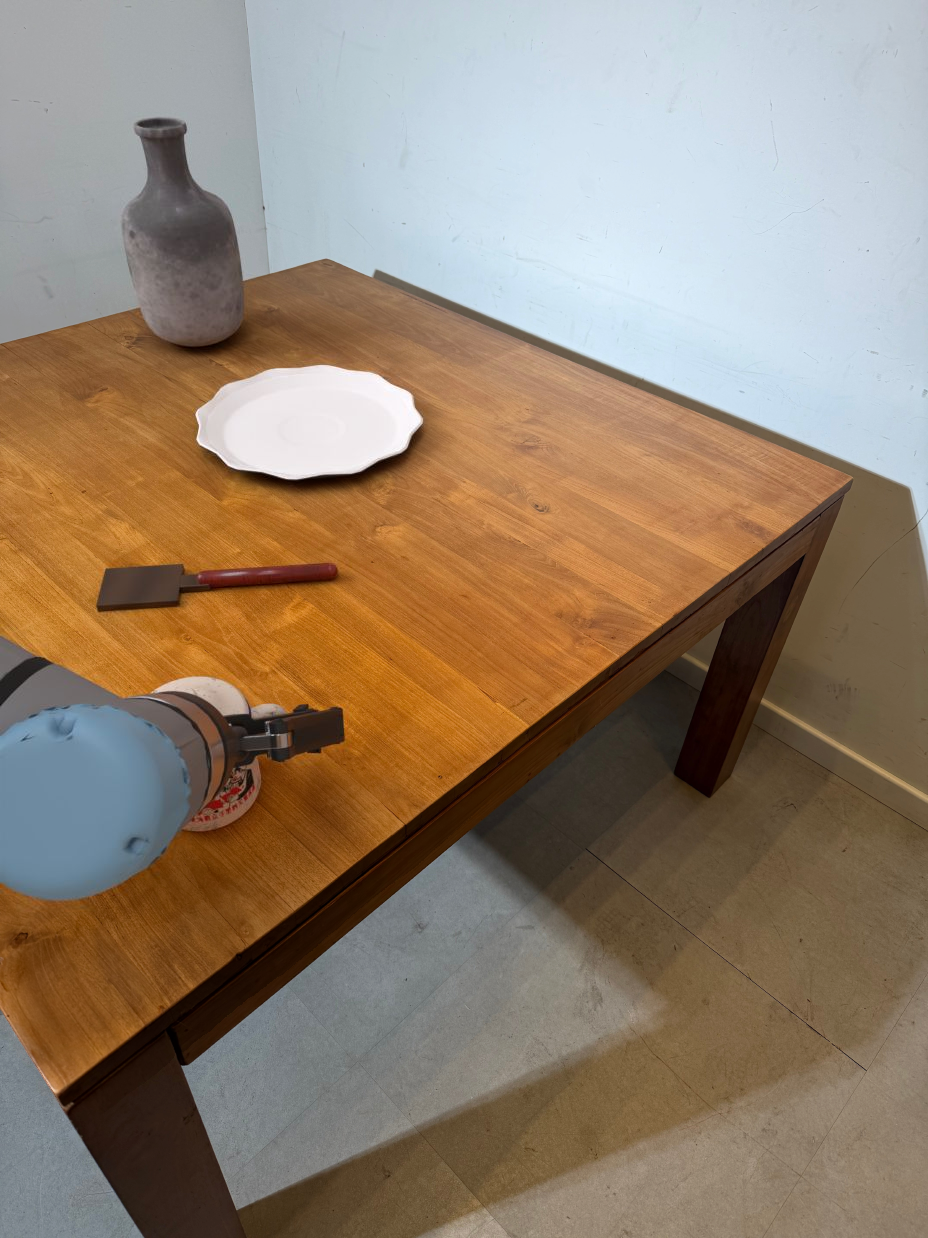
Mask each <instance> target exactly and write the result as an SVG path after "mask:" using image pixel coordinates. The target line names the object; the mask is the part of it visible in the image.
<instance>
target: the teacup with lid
mask: <svg viewBox="0 0 928 1238" xmlns="http://www.w3.org/2000/svg"><path fill="white" fill-rule="evenodd" d="M165 691H180V692H186V693H190V694H193V695H196V696H198V697H201V698H203V699H204V700H206V701H208V702H209V703H211V704H212V705H213V706H214V707H215V708H216V709H217V710H218V711H219V712H220V713H221V714H222V715H223V716H224V715H231V714H249V715H250V716H251V717H252V719H254V718H261V717H268V716H274V715H281V714H288V713H287V711H286V709H285V708H284V707H283V706H281V705H280V704H276V703H263V704H259V705H256V706H252V707H251V706H250V703H249V701H248V700H247V698H246V697H245V695H244V694H242V692H241V690H240V689H238V688H237V687H235V686H234V685H233V684H231V683H229V682H227V681H225V680H222V679H220V678H217V677H216V678H215V677H212V676H211V677H210V676H188V677H182V678H178V679H175V680H172V681H169V682H166V683H165V684H162V685H160V686H159V687H157V688H155V689H154V690H153V691H151V692H150V693H158V692H165ZM229 726H231V724H229ZM258 756H260V755H258ZM258 756H256V757H255V759H254V761H253V763H252V764H250V765H246V766H241V767H236V768H233V771H232V773H231V775H230V778H229V780H228V782H227V784H226V785H225V787H224V788H223V790H222V791H221V792H220V793H219V794H218V796H217V797H216V798H215V799H214V800H213V801H212V802H211V803H210V804H209V805H208V806H206V807H205V808H204V809H203V810H202V811H201V812H199V813H198V814H197V815H196V816H195V817H194V818H193V819H192V820H191V821H190V822H189V823H188V824H187V825H186V826H185V827H184V828H183V829H182V830H184V831H189V832H206V831H213V830H216V829H220V828H224V827H225V826H227V825H230V824H231V823H234V822H235V821H237V820H238V819H240V818H241V817H242V816H243V815H244V814H245V813H246V812H247V811H249V810H250V809H251V807H252V806H253V805H254V803H255V801H256V800H257V798H258V796H259V793H260V790H261V785H262V784H261V783H262V775H261V769H260V765H259V759H258Z"/></svg>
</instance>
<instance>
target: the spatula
mask: <svg viewBox="0 0 928 1238" xmlns="http://www.w3.org/2000/svg"><path fill="white" fill-rule="evenodd" d="M338 574H339V568H338V567H337V565H336V564H334V563H332V562H320V563H319V562H318V563H305V564H303V563H302V564H286V565H271V566H257V567H239V568H238V567H237V568H223V569H207V570H205V569H204V570H201V571H199V572H198V573H190V574H189V573H188V574H185V565H184V563H174V564H156V565H140V566H124V567H107V568H105V570H104V573H103V577H102V581H101V585H100V589H99V592H98V597H97V600H96V605H95V607H96V610H97V612H108V611H109V612H110V611H122V610H138V609H151V608H166V607H179V606H180V602H181V596H182V593H190V592H191V593H192V592H205V591H207V592H208V591H211V588H220V587H221V588H222V587H233V586H234V587H236V586H237V587H238V586H253V585H268V584H269V585H270V584H283V583H299V582H312V581H314V582H315V581H325V580H326V581H328V580H329V581H330V580H333V579H335V578H336V577H337V576H338Z"/></svg>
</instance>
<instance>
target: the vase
mask: <svg viewBox="0 0 928 1238" xmlns="http://www.w3.org/2000/svg"><path fill="white" fill-rule="evenodd" d="M133 130H134V133H135V135H137V136H138V137H139V139H140V142H141V146H142V149H143V153H144V158H145V164H146V171H147V176H146V182H145V185H144V187H143V188H142V190H141V192H139V193H138V194H136V195H134V196H132V197H131V198H129V200H128V201H126V203H124V206H123V208H122V211H121V217H120V224H121V225H120V226H121V227H120V228H121V235H122V241H123V247H124V252H125V257H126V263H127V265H128V266H127V267H128V270H129V274H130V279H131V282H132V286H133V289H134V293H135V296H136V300H137V304H138V306H139V310H140V312H141V314H142V317H143V319H144V321H145V324H146V325H147V327H148V328H149V329H150V330H151V332H152V333H153V334H154V335H156V337H158V338H160V339H162V340H163V341H166V342H168V343H171V344H173V345H178V346H184V347H190V348H191V347H195V348H196V347H197V348H198V347H206V346H211V345H214V344H217V343H220V342H222V341H224V340H226V339H228V338H229V337H231V336H233V335H234V334H235V333H236V332H237V331H238V329H239V328H240V327H241V325H242V323H243V319H244V315H245V290H244V289H245V288H244V276H243V269H242V261H241V253H240V247H239V241H238V236H237V235H238V234H237V231H236V226H235V222H234V218H233V215H232V212H231V209H229V206H228V205H227V204H226V203H225V201H224V200H223V199H222V198H221V197H219V196H218V195H216V194H214V193H212V192H210V191H207V190H206V189H203V188H202V187H201V186H200V185H199V184H198V183H197V182H196V180H195V179H194V178H193V176H192V174H191V171H190V169H189V164H188V160H187V159H188V158H187V151H186V143H185V134H187V132H188V126H187V123H186V121H185V120H182V119H180V118H176V117H165V116H155V117H147V118H141V119H138V120H136V121H135V122H134V123H133Z"/></svg>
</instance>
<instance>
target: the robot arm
mask: <svg viewBox="0 0 928 1238" xmlns="http://www.w3.org/2000/svg"><path fill="white" fill-rule="evenodd" d="M344 720H345V719H344V710H343V707H340V706H339V707H338V706H331V707H330V708H328V709H327V708H326V709H323V710H319V709H315V708H309V703H303V704H298V705H297V706H296V707H294V708H293V709H292V712H289V713H287V714H281V715H274V716H268V717H261V718H254V719H252V717H251V716H250V715H249V714H231V715H224V716H223V715H222V714H221V713H220V712H219V711H218V710H217V709H216V708H215V707H214V706H213V705H212V704H211V703H209V702H208V701H206V700H204V699H203V698H201V697H198V696H196V695H193V694H190V693H186V692H180V691H165V692H158V693H151V692H150V693H144V694H143V693H142V694H137V695H131V696H126V697H122V696H119V695H117V693H116V694H115V693H114V692H112V691H110V690H108V689H106V688H105V687H103V686H101V685H98V684H97V683H95V682H93V681H91V680H89V679H87V678H86V677H83V676H82V675H80V674H78V673H76V672H74V671H73V670H71V669H69V668H67V667H65V666H64V665H61V664H57V663H55V662H53V661H51V660H49V659H47V658H45V657H43V656H37V655H36V654H35V653H33V652H31V651H29V650H27V649H26V648H24V647H22V646H20V645H18V644H17V643H15V642H13V641H12V640H10V639H8V638H6V637H4V636H3V635H1V634H0V884H2V885H4V886H5V887H6V888H8V889H10V890H12V891H14V892H16V893H19V894H21V895H24V896H26V897H30V898H34V899H38V900H43V901H53V902H65V901H67V902H68V901H75V900H76V901H77V900H80V899H85V898H89V897H92V896H96V895H99V894H101V893H103V892H106V891H108V890H111V889H112V888H114V887H116V886H118V885H121V884H123V883H125V881H127V880H128V879H130V878H131V877H134V876H135V875H136V874H138V873H140V872H142V871H144V870H145V869H146V870H147V868H149V867H150V866H152V865H153V864H154V863H155V862H156V861H158V860H159V859H160V858H161V857H162V856H163V855H164V854H165V853H166V852H167V850H168V848H169V845H170V844H171V842H173V840H175V839H174V838H176V836H177V835H178V834H179V833H180V832H181V831H182V830H184V829H183V828H184V827H185V826H186V825H187V824H188V823H189V822H190V821H191V820H192V819H193V818H194V817H195V816H196V815H197V814H198V813H199V812H201V811H202V810H203V809H204V808H205V807H206V806H208V805H209V804H210V803H211V802H212V801H213V800H214V799H215V798H216V797H217V796H218V794H219V793H220V792H221V791H222V790H223V788H224V787H225V785H226V784H227V782H228V780H229V778H230V775H231V773H232V771H233V768H236V767H241V766H246V765H250V764H252V763H253V761H254V759H255V757H256V756H257V757H258V755H259V756H262V755H263V756H264V755H266V759H267V760H270V761H272V762H274V763H285V762H286V761H287V760H292V758H294V757H295V756H298V755H302V754H305V753H307V754H322V748H326V747H330V746H334V745H341V743H344V742H346V736H345V735H346V733H345V721H344ZM229 724H231V726H229Z"/></svg>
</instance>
